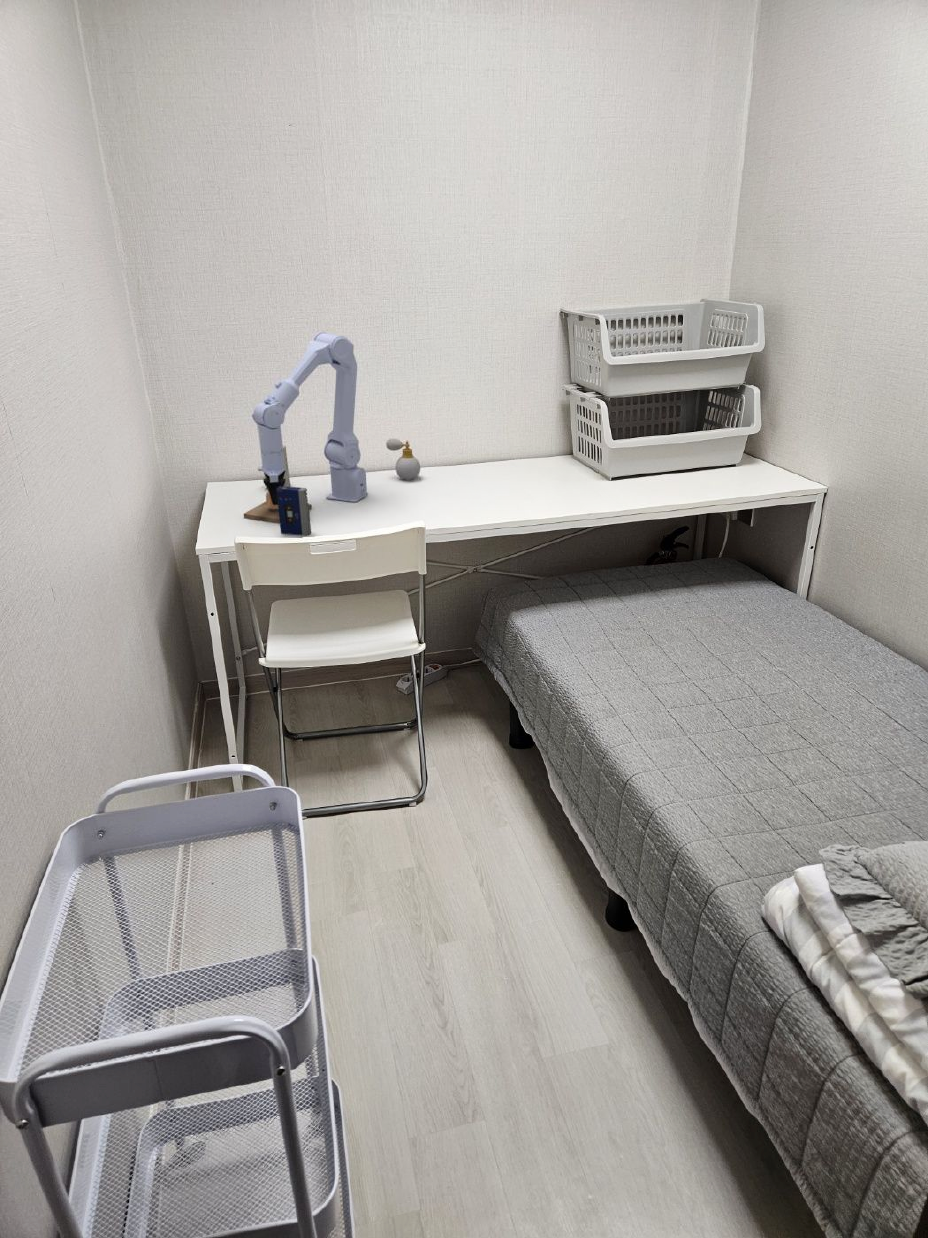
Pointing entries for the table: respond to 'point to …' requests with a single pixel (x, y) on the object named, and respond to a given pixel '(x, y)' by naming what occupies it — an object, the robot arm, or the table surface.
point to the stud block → (265, 513)
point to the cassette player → (293, 510)
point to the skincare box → (286, 475)
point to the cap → (270, 502)
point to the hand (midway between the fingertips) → (277, 500)
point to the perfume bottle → (404, 460)
